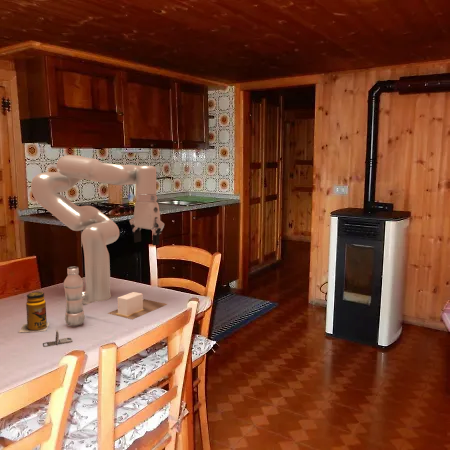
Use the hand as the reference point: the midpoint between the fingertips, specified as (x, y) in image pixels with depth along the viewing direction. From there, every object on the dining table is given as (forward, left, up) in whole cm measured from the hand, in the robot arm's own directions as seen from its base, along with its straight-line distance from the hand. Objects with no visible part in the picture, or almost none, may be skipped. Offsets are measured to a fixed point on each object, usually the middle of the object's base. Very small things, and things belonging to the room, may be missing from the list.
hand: (146, 243), depth 167 cm
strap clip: (-30, -29, -26) cm, 49 cm away
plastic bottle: (-26, -14, -25) cm, 39 cm away
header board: (-4, -6, -25) cm, 26 cm away
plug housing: (-7, -10, -23) cm, 26 cm away
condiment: (-39, -14, -25) cm, 48 cm away
